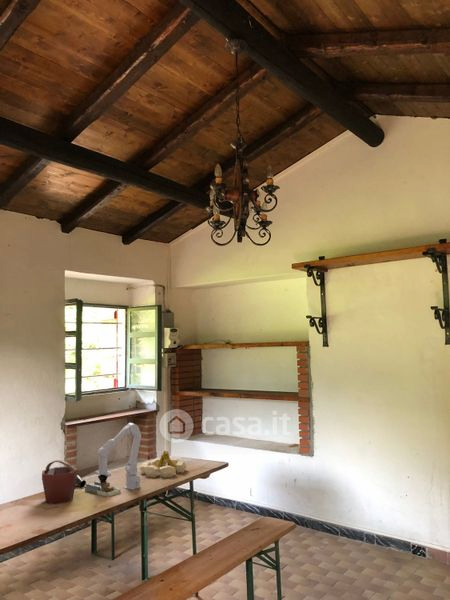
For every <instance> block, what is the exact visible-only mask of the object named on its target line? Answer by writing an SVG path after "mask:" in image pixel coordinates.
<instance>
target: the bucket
mask: <svg viewBox="0 0 450 600" xmlns="http://www.w3.org/2000/svg"><path fill="white" fill-rule="evenodd" d="M54 463H59V464H62V465H64V466H56V467H55V466H54V467H52V468H51V466H52V465H53V464H54ZM78 474H79V469H78V468H76V467H74V466H73V465H71V464H70V463H69V462H66V461H64V460H60V459H59V460H58V459H57V460H53V461H51V462H49V463H47V465H46V467H45V470H42V472H41V481H42V485H43V493H44V498H45V503H46V504H51V505H57V504H58V505H59V504H63V503H68V502H69V501H71V500H73V499H74V494H75V489H76V487H75V485H76V480H77V475H78Z"/></svg>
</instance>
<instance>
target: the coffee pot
mask: <svg viewBox="0 0 450 600" xmlns="http://www.w3.org/2000/svg"><path fill="white" fill-rule="evenodd" d="M86 484H87V482H86V480H85V479H83V478H82V477H81V476H80V475H77V480H76V485H75V488H76V487H80V488H85V486H86Z"/></svg>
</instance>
